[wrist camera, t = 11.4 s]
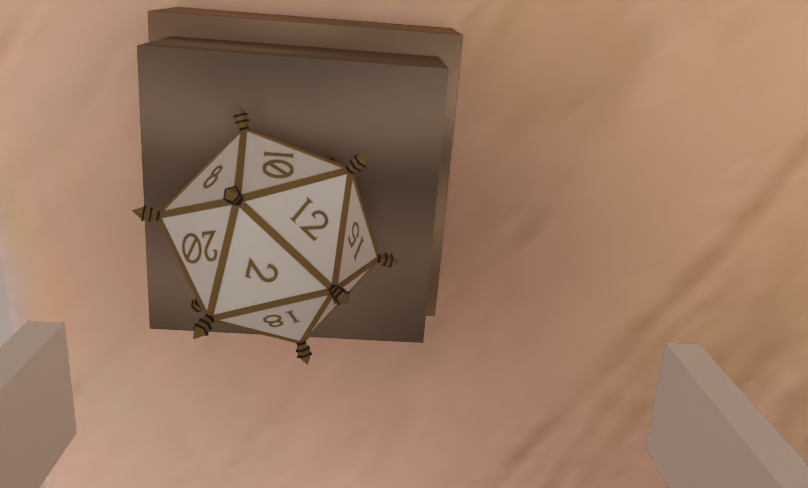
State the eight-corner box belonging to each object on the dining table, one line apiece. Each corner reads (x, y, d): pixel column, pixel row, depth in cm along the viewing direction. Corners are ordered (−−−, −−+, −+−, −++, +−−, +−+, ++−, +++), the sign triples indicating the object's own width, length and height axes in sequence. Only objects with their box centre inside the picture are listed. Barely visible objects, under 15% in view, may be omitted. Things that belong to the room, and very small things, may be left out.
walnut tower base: (428, 278, 42) (443, 363, 33) (183, 264, 42) (127, 347, 32) (452, 28, 38) (477, 44, 28) (176, 7, 37) (108, 16, 28)
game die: (280, 221, 34) (148, 386, 28) (214, 61, 29) (32, 223, 23) (452, 249, 30) (343, 447, 24) (414, 70, 25) (260, 268, 19)
